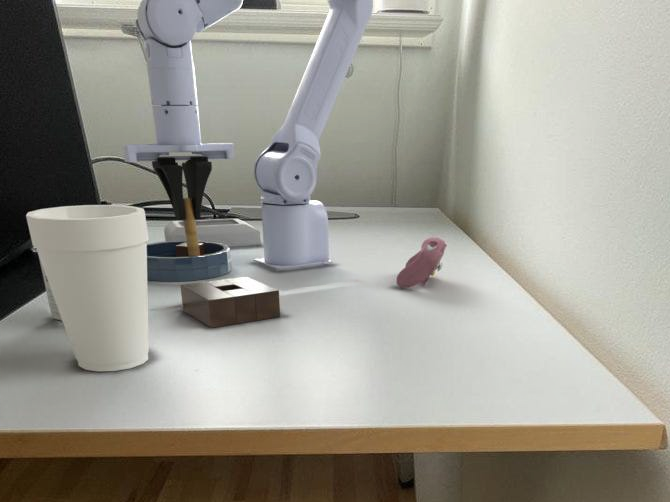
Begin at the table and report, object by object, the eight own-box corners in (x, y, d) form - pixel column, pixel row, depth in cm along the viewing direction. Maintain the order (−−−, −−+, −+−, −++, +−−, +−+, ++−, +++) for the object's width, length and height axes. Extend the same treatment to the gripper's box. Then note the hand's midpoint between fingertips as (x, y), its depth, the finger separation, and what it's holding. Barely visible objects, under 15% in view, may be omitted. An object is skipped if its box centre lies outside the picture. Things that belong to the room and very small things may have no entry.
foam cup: (105, 385, 56) (74, 223, 50) (38, 365, 61) (1, 213, 54) (186, 355, 63) (168, 209, 57) (120, 339, 68) (96, 202, 61)
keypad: (259, 224, 112) (168, 228, 107) (261, 247, 114) (171, 252, 109) (247, 216, 120) (162, 220, 115) (249, 238, 121) (165, 242, 117)
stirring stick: (201, 262, 94) (192, 198, 91) (201, 263, 93) (191, 197, 89) (190, 263, 94) (180, 198, 91) (189, 264, 93) (179, 198, 89)
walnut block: (187, 263, 99) (184, 242, 97) (205, 264, 98) (203, 243, 97) (177, 267, 96) (175, 245, 95) (196, 268, 96) (194, 246, 94)
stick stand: (248, 301, 81) (246, 276, 80) (280, 316, 75) (279, 290, 74) (183, 310, 77) (179, 284, 76) (211, 328, 71) (208, 300, 70)
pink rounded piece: (422, 301, 88) (449, 254, 84) (392, 284, 87) (418, 235, 84) (430, 285, 96) (455, 241, 93) (403, 269, 96) (427, 224, 92)
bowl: (209, 261, 103) (206, 237, 101) (247, 277, 93) (245, 251, 91) (121, 271, 96) (117, 246, 94) (152, 289, 86) (148, 262, 84)
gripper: (127, 105, 78) (145, 226, 85) (240, 106, 85) (248, 218, 92) (111, 105, 83) (128, 219, 90) (218, 106, 90) (227, 212, 97)
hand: (187, 218), depth 91 cm, fingers closed on stirring stick, 1 cm apart
